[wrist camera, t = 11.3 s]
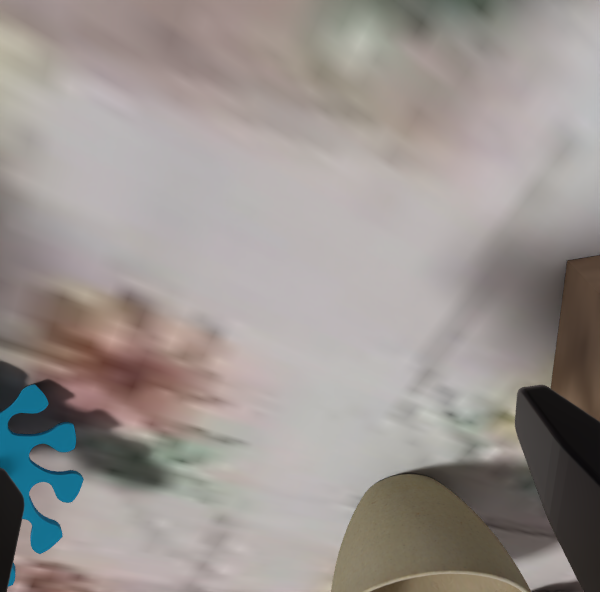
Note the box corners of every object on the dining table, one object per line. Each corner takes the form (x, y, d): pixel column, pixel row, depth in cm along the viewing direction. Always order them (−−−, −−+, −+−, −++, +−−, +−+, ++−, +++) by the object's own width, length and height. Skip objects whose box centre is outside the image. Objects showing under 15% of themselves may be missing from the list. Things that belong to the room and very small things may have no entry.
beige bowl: (409, 415, 27) (447, 545, 21) (520, 492, 31) (579, 619, 25) (282, 509, 31) (285, 642, 25) (396, 567, 35) (422, 694, 29)
